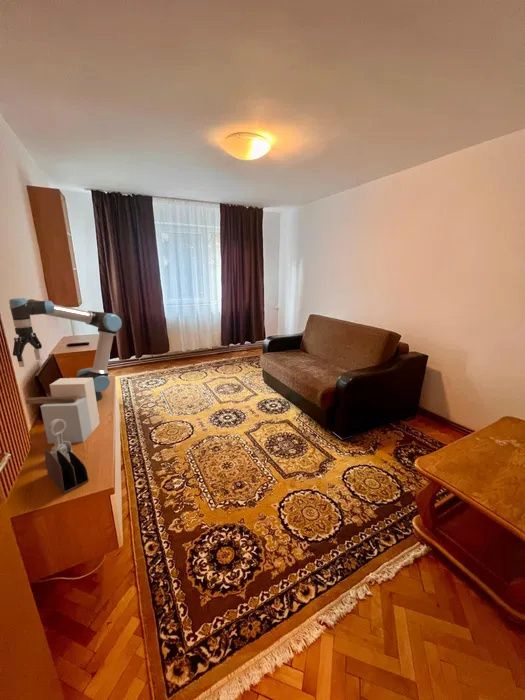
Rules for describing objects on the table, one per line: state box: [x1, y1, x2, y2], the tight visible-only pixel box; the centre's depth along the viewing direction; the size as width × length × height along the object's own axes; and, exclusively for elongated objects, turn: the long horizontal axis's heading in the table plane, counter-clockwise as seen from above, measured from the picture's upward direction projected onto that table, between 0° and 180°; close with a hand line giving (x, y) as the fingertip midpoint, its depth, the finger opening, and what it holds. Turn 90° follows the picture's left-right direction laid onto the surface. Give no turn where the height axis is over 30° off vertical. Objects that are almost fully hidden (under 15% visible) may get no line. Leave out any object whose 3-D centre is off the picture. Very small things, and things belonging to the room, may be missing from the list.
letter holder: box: [43, 449, 90, 495], centre depth 126 cm, size 10×20×14 cm, turn 52°
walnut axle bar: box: [25, 396, 77, 405], centre depth 152 cm, size 3×24×2 cm, turn 96°
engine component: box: [46, 419, 74, 463], centre depth 139 cm, size 11×20×10 cm
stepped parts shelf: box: [39, 377, 101, 445], centre depth 159 cm, size 20×18×30 cm
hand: (31, 363), depth 163 cm, fingers open, 13 cm apart
